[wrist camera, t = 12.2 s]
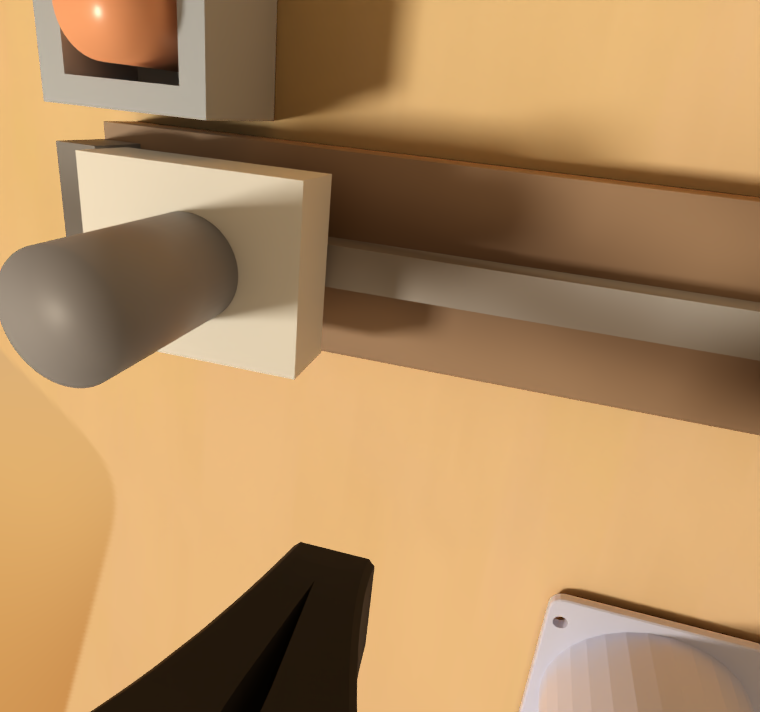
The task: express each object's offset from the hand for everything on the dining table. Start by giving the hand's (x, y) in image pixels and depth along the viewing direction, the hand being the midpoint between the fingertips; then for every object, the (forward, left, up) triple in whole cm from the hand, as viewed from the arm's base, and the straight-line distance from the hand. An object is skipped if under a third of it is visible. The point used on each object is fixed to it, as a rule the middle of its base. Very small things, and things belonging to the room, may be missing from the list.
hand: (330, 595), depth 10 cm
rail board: (+4, 0, -10) cm, 11 cm away
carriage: (+4, +6, -8) cm, 10 cm away
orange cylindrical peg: (+9, +8, -9) cm, 16 cm away
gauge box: (+9, +8, -10) cm, 16 cm away
